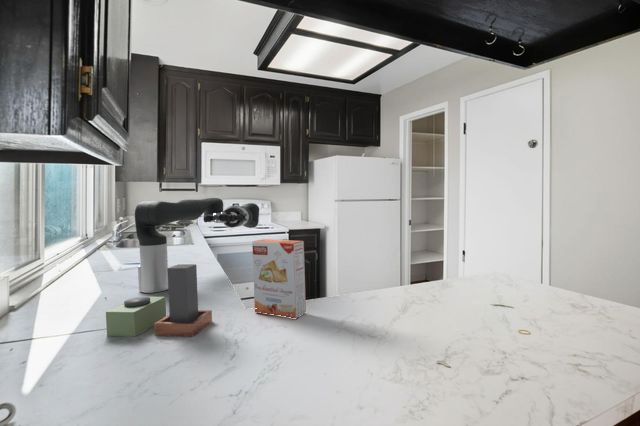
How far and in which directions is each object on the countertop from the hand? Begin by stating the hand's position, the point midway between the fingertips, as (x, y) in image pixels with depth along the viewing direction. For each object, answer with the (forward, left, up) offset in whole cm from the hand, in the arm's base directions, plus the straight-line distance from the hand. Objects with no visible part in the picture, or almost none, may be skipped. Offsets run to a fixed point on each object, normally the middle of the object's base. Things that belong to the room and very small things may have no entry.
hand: (217, 218), depth 112 cm
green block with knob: (-11, -26, -27) cm, 39 cm away
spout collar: (+2, -27, -27) cm, 38 cm away
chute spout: (+2, -27, -27) cm, 38 cm away
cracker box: (+24, -15, -27) cm, 39 cm away
